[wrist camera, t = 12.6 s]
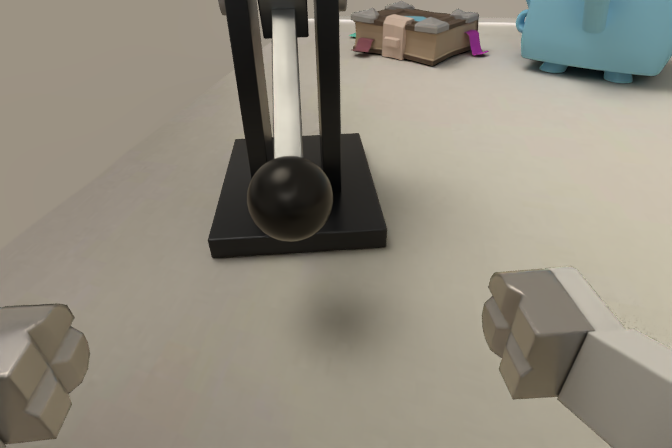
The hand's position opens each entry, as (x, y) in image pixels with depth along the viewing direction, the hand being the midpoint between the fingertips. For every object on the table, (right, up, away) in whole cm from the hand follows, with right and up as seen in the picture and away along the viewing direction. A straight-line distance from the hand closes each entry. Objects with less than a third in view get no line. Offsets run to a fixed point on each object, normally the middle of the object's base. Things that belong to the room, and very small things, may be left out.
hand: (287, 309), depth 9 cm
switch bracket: (-1, +4, +19) cm, 19 cm away
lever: (-1, +7, +11) cm, 13 cm away
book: (+9, +24, +47) cm, 53 cm away
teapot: (+30, +18, +38) cm, 52 cm away
